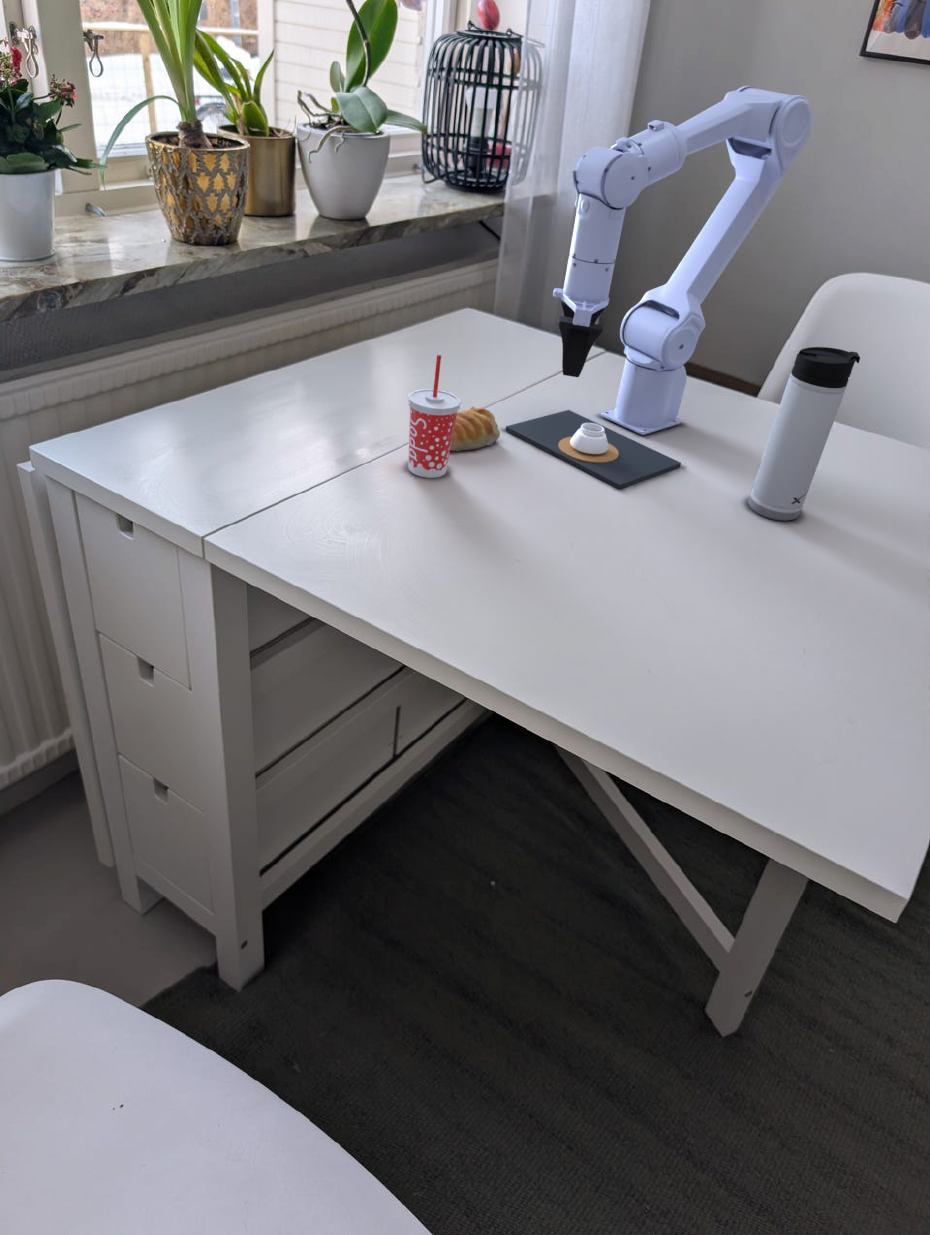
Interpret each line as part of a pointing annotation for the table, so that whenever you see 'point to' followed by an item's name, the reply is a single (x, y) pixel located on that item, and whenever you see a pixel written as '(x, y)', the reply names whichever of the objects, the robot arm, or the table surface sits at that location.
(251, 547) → the table surface
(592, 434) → the lidless jar
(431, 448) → the beverage cup
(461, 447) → the pastry
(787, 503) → the travel mug
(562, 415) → the mat
